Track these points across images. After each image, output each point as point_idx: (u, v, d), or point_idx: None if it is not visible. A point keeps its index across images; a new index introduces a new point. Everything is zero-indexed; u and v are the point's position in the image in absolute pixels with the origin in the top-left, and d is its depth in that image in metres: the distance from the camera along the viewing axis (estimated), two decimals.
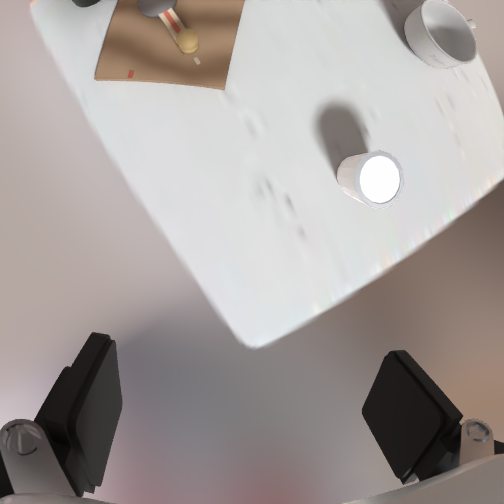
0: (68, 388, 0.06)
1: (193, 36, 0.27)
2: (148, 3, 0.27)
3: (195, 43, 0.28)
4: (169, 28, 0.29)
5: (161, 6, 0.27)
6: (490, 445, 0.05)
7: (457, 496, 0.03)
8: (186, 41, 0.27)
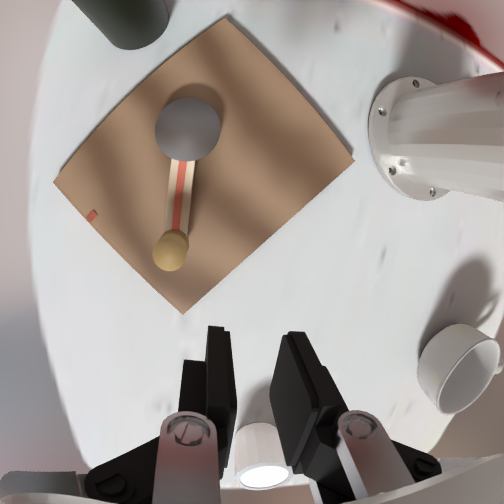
0: (217, 376, 0.07)
1: (178, 260, 0.21)
2: (172, 127, 0.21)
3: None
4: (169, 196, 0.23)
5: (183, 148, 0.22)
6: (384, 436, 0.06)
7: (457, 496, 0.03)
8: (164, 261, 0.21)
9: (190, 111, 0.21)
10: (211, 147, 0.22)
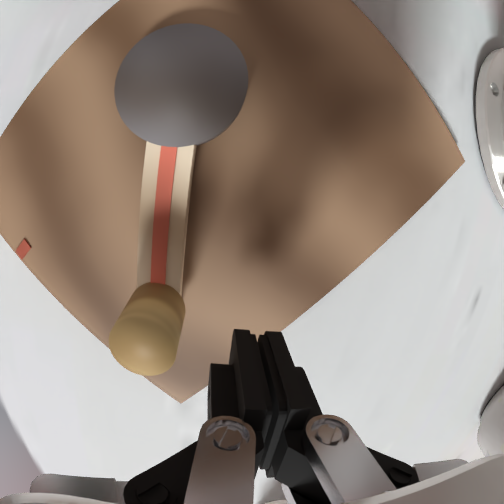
0: (250, 379, 0.07)
1: (160, 359, 0.10)
2: (148, 79, 0.09)
3: None
4: (143, 217, 0.11)
5: (171, 120, 0.10)
6: (356, 441, 0.06)
7: (457, 496, 0.03)
8: (134, 358, 0.10)
9: (185, 47, 0.09)
10: (229, 118, 0.10)
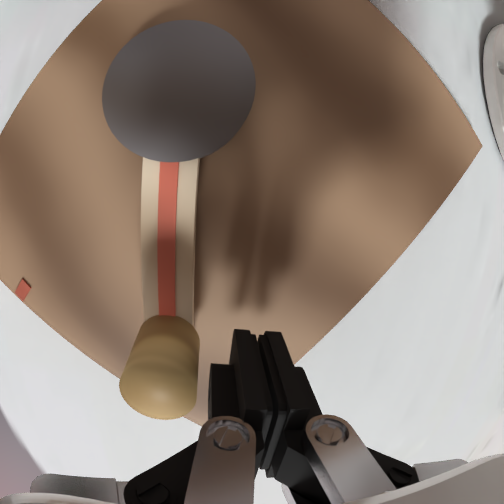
0: (250, 379, 0.07)
1: (179, 402, 0.08)
2: (140, 85, 0.08)
3: None
4: (145, 244, 0.10)
5: (170, 132, 0.09)
6: (356, 441, 0.06)
7: (457, 496, 0.03)
8: (149, 403, 0.08)
9: (181, 47, 0.08)
10: (237, 126, 0.09)
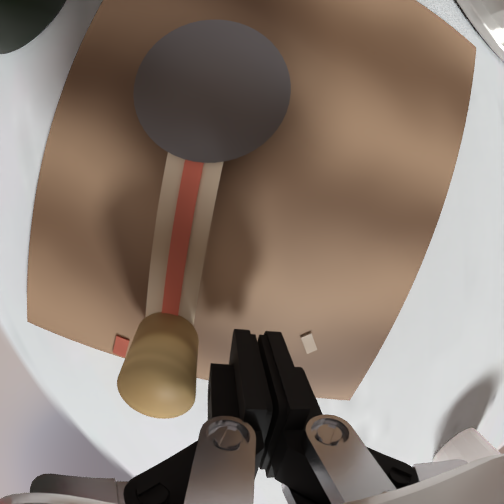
0: (250, 379, 0.07)
1: (176, 403, 0.08)
2: (175, 79, 0.08)
3: None
4: (157, 240, 0.10)
5: (199, 131, 0.09)
6: (356, 441, 0.06)
7: (457, 496, 0.03)
8: (146, 401, 0.08)
9: (221, 48, 0.08)
10: (266, 135, 0.09)
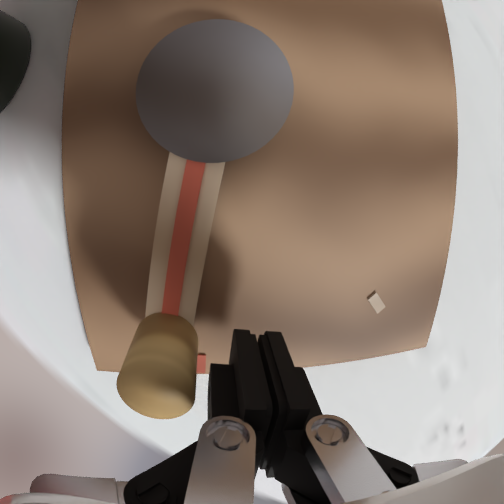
0: (250, 379, 0.07)
1: (176, 403, 0.08)
2: (177, 78, 0.08)
3: None
4: (158, 240, 0.10)
5: (201, 131, 0.09)
6: (356, 441, 0.06)
7: (457, 496, 0.03)
8: (145, 401, 0.08)
9: (224, 47, 0.08)
10: (269, 136, 0.09)
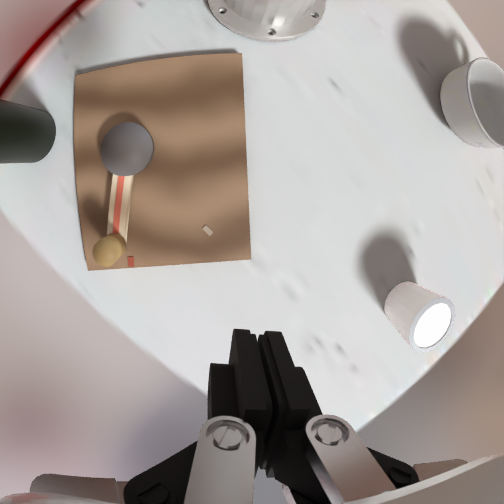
0: (250, 379, 0.07)
1: (111, 258, 0.24)
2: (113, 147, 0.25)
3: None
4: (111, 204, 0.26)
5: (122, 165, 0.25)
6: (356, 441, 0.06)
7: (457, 496, 0.03)
8: (101, 258, 0.24)
9: (127, 133, 0.25)
10: (144, 164, 0.26)
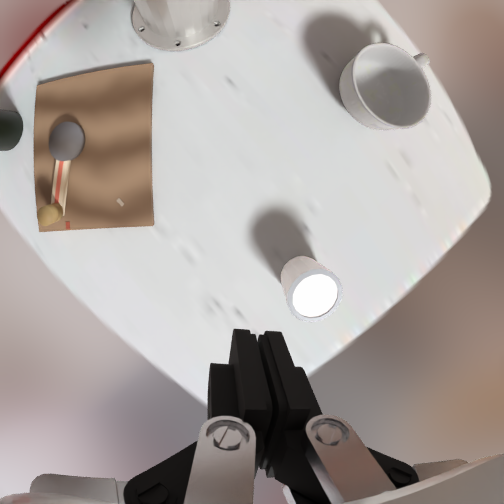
0: (250, 379, 0.07)
1: (48, 219, 0.30)
2: (57, 140, 0.30)
3: (48, 224, 0.31)
4: (54, 182, 0.32)
5: (62, 153, 0.31)
6: (356, 441, 0.06)
7: (457, 496, 0.03)
8: (42, 219, 0.30)
9: (66, 130, 0.30)
10: (76, 152, 0.31)
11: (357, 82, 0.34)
